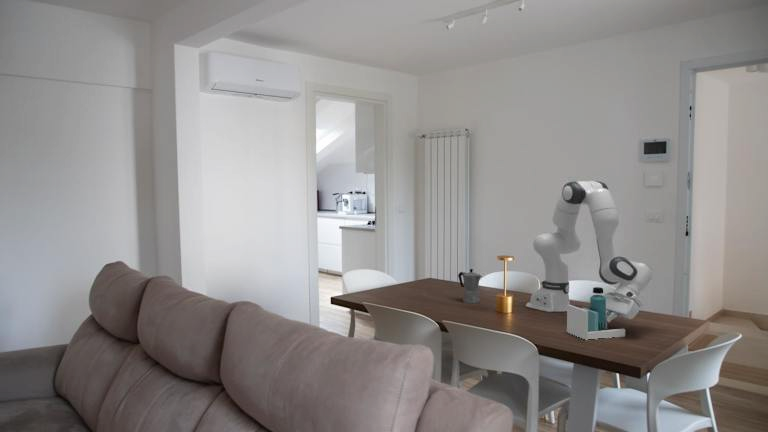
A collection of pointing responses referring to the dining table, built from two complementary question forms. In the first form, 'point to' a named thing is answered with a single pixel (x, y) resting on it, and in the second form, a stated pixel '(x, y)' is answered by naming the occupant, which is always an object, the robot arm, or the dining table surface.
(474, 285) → the coffeepot
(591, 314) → the pusher
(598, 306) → the beverage bottle
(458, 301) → the dining table surface
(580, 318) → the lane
